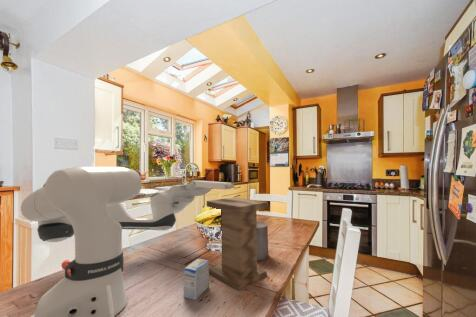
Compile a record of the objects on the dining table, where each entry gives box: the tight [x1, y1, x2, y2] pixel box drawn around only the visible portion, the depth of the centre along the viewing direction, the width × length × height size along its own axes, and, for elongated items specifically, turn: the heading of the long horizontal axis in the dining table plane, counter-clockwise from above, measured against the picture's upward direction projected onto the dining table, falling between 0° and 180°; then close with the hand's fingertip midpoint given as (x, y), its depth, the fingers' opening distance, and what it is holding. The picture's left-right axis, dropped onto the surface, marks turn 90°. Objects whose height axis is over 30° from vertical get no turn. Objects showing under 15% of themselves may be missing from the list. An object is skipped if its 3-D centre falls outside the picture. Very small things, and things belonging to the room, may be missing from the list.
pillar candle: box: [257, 221, 269, 261], centre depth 97 cm, size 10×10×15 cm
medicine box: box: [183, 258, 210, 301], centre depth 69 cm, size 8×4×9 cm, turn 159°
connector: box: [192, 180, 235, 190], centre depth 94 cm, size 4×26×2 cm, turn 43°
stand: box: [206, 197, 269, 291], centre depth 81 cm, size 14×18×26 cm
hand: (198, 182), depth 101 cm, fingers closed on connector, 4 cm apart
